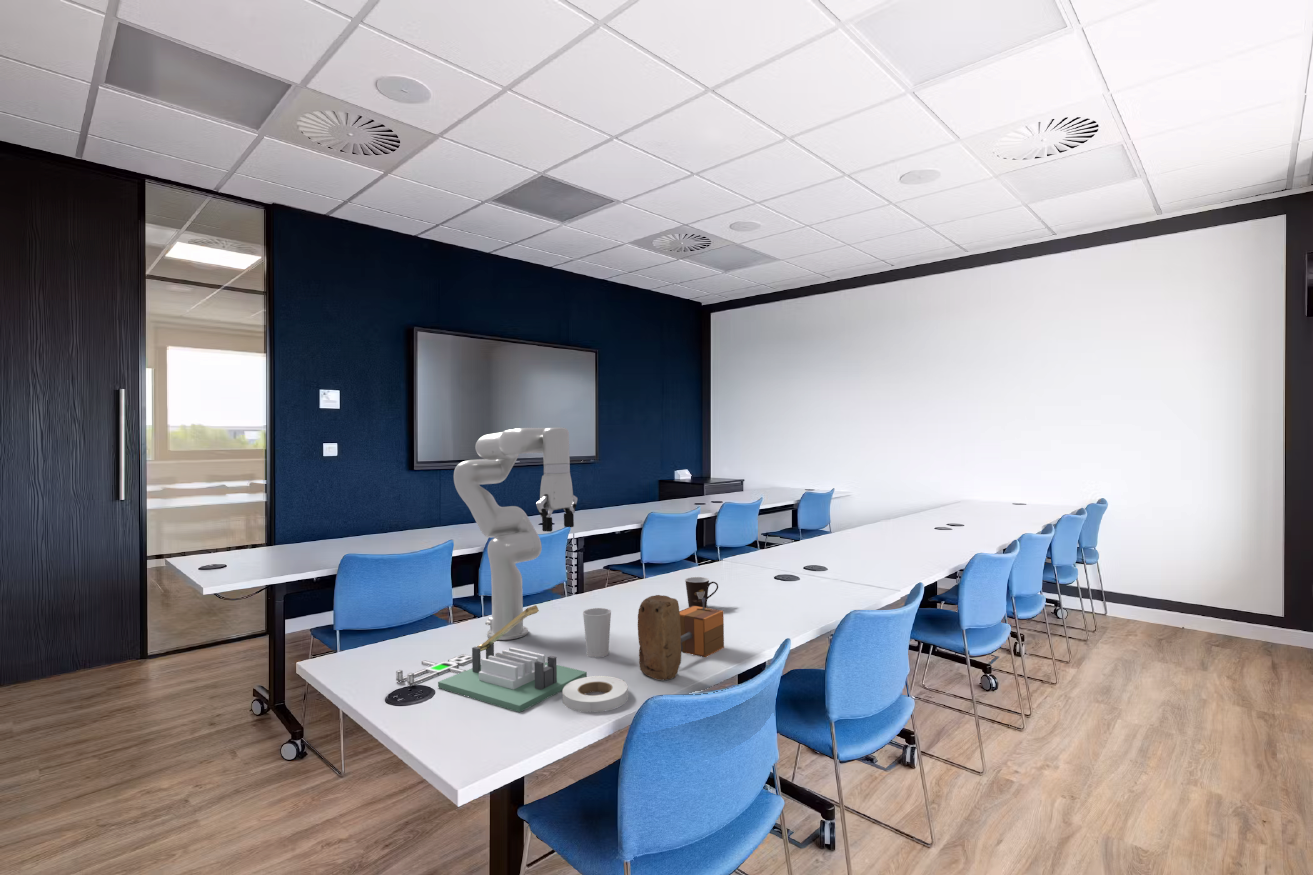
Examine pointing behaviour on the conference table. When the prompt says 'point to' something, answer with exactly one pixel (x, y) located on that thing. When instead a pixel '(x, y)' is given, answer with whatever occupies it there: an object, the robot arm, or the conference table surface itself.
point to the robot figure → (435, 669)
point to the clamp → (701, 630)
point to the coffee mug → (698, 590)
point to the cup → (597, 631)
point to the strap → (508, 627)
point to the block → (659, 637)
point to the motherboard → (511, 678)
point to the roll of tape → (593, 703)
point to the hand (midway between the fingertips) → (558, 529)
